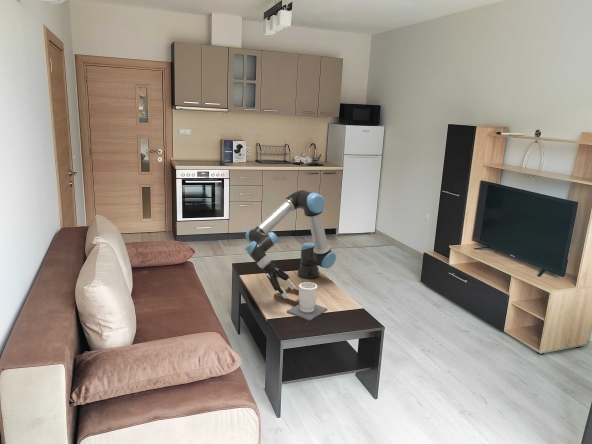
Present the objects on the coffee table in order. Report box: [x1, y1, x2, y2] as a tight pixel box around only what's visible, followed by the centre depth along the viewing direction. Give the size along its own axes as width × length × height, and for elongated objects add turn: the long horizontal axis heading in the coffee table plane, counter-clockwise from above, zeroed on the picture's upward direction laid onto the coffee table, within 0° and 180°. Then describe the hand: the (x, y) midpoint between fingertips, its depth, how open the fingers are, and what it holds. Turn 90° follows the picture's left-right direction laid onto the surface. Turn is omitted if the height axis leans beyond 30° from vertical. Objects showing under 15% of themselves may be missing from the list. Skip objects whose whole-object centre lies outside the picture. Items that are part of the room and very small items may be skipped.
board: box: [286, 303, 328, 322], centre depth 261 cm, size 18×16×1 cm
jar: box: [298, 281, 318, 313], centre depth 259 cm, size 11×10×15 cm
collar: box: [273, 286, 300, 307], centre depth 277 cm, size 15×16×3 cm
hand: (290, 292), depth 262 cm, fingers open, 13 cm apart
